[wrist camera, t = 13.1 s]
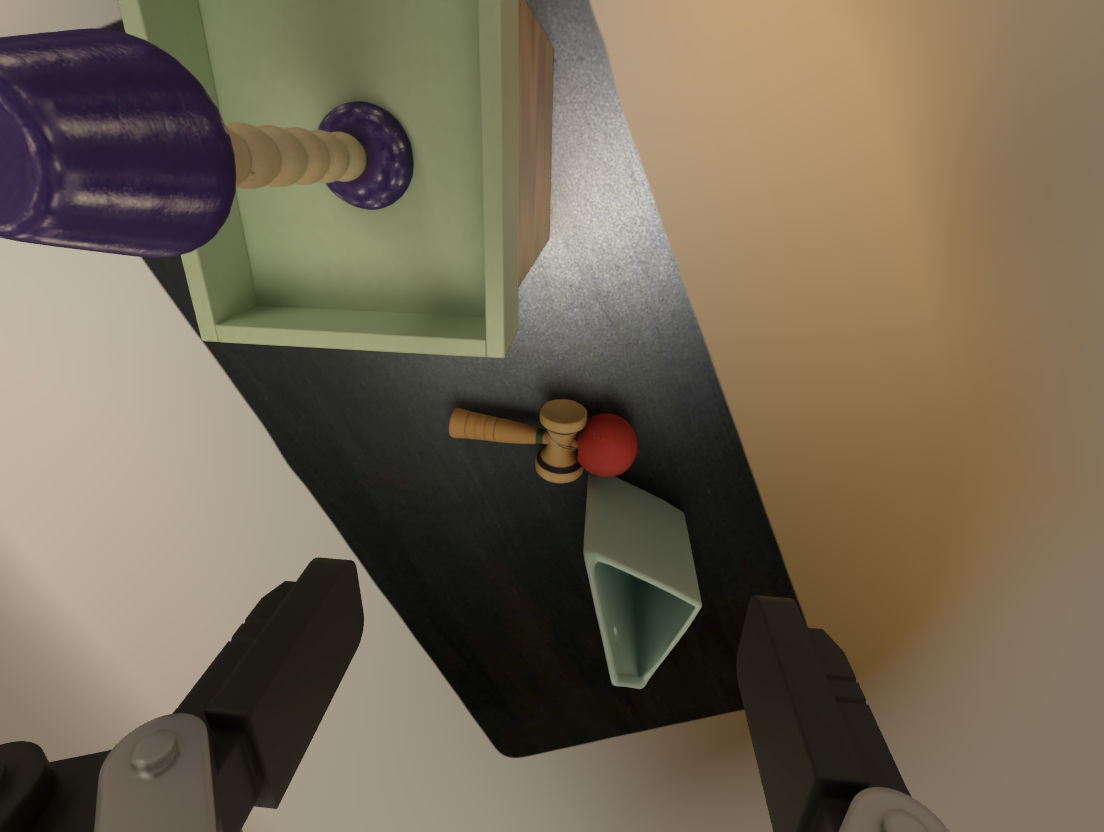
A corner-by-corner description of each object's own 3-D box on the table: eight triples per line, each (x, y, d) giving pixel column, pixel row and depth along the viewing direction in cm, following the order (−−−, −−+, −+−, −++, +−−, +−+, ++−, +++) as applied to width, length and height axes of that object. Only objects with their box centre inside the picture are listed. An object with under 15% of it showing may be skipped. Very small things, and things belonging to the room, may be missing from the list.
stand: (399, 45, 44) (197, -49, 23) (553, 48, 43) (498, -47, 22) (413, 233, 50) (265, 301, 29) (549, 239, 49) (502, 313, 28)
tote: (173, -74, 22) (86, -117, 19) (518, -74, 21) (499, -119, 18) (253, 316, 29) (201, 341, 25) (518, 330, 28) (504, 358, 24)
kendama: (464, 450, 61) (634, 479, 57) (440, 470, 55) (628, 503, 51) (468, 379, 59) (644, 404, 55) (444, 391, 53) (640, 420, 49)
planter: (702, 572, 63) (737, 739, 45) (632, 586, 65) (640, 753, 47) (663, 446, 57) (687, 584, 39) (587, 466, 59) (577, 606, 41)
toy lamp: (298, 180, 25) (-152, 232, 10) (319, 66, 23) (-201, -73, 8) (400, 224, 26) (108, 334, 11) (430, 116, 24) (121, 67, 9)
